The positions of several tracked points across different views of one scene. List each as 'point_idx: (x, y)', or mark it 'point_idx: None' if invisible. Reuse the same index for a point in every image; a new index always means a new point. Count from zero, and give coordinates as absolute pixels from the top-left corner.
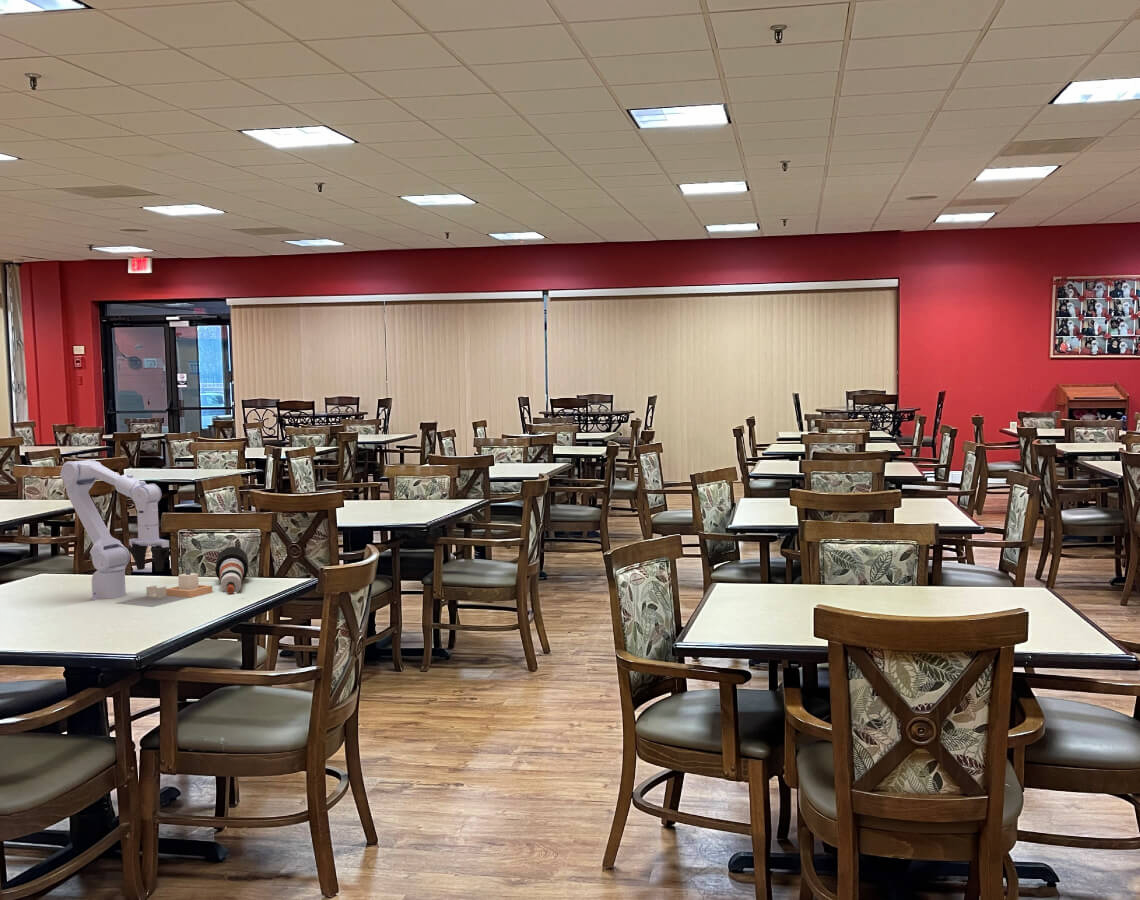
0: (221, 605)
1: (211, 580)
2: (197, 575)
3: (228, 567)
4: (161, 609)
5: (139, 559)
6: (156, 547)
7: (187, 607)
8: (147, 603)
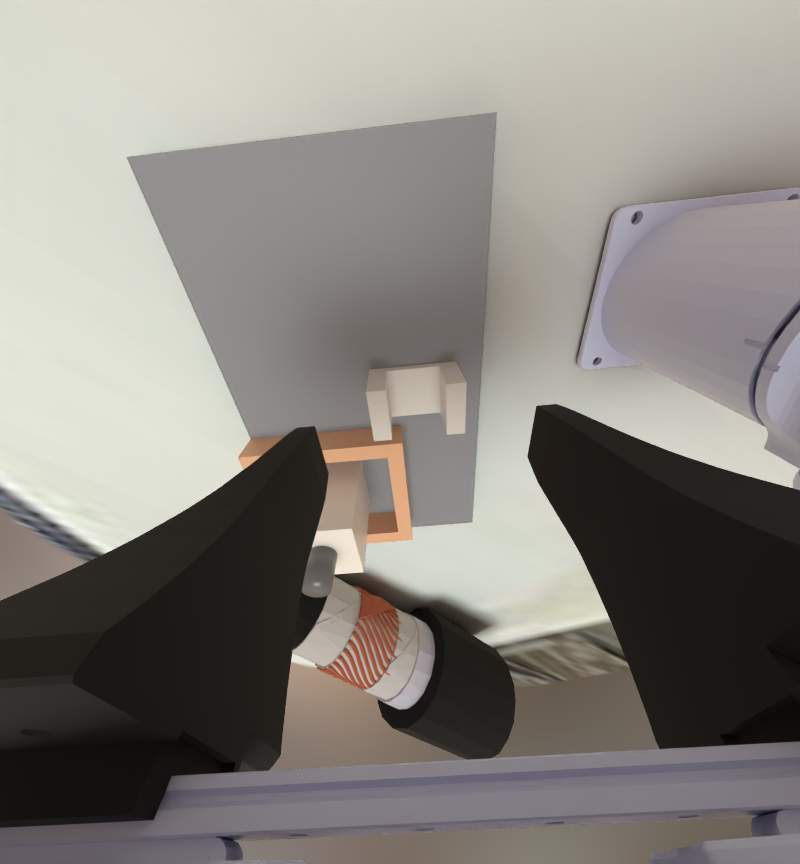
0: (50, 433)
1: (508, 615)
2: None
3: (331, 660)
4: (140, 223)
5: (594, 485)
6: (150, 748)
7: (102, 336)
8: (279, 233)
